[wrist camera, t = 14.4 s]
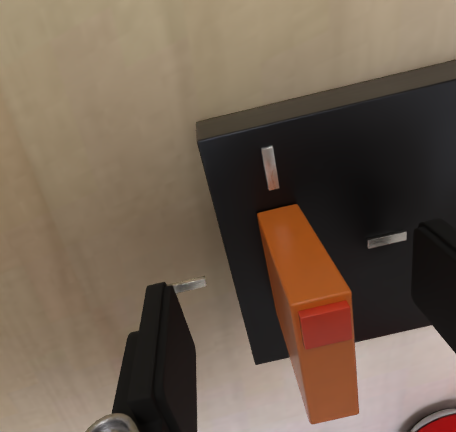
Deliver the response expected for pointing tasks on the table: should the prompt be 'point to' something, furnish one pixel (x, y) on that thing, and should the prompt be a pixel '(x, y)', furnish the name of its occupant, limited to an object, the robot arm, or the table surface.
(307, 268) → the knob
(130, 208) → the table surface
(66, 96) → the table surface
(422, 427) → the beverage can
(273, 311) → the control panel
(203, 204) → the table surface
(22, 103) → the table surface
